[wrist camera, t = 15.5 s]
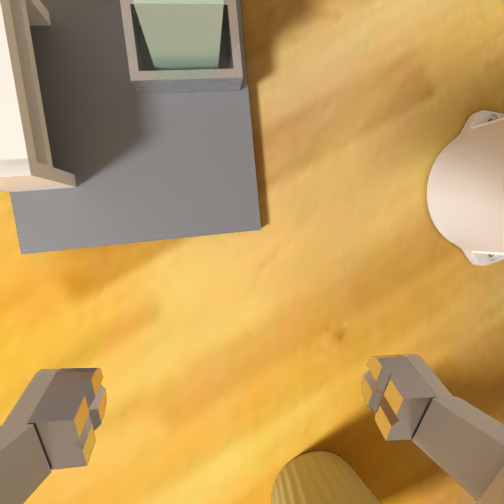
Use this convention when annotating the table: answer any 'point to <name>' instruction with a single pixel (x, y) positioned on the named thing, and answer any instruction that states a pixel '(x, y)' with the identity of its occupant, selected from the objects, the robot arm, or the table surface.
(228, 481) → the table surface
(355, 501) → the potted cactus
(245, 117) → the gray base with shelf
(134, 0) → the tall mint green pillar
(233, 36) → the hollow rectangular frame
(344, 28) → the table surface
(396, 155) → the table surface
